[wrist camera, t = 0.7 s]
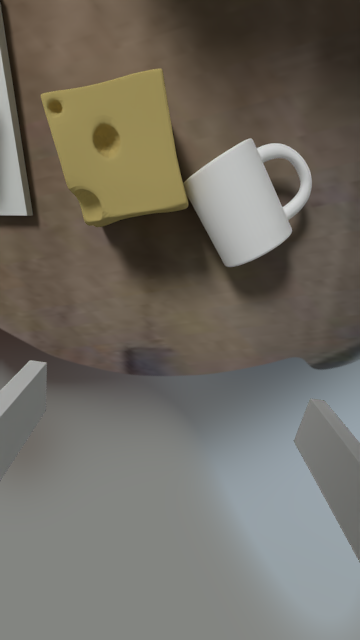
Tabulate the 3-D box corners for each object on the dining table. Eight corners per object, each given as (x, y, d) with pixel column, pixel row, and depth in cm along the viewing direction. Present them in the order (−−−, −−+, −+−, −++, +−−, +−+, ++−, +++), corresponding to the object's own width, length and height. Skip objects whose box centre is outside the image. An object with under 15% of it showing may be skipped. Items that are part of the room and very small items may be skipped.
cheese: (100, 227, 34) (74, 230, 25) (73, 124, 31) (31, 82, 21) (185, 210, 34) (190, 207, 25) (168, 105, 31) (166, 54, 21)
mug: (220, 262, 36) (233, 273, 29) (180, 188, 33) (182, 179, 26) (307, 210, 35) (345, 208, 27) (273, 127, 32) (305, 99, 24)
